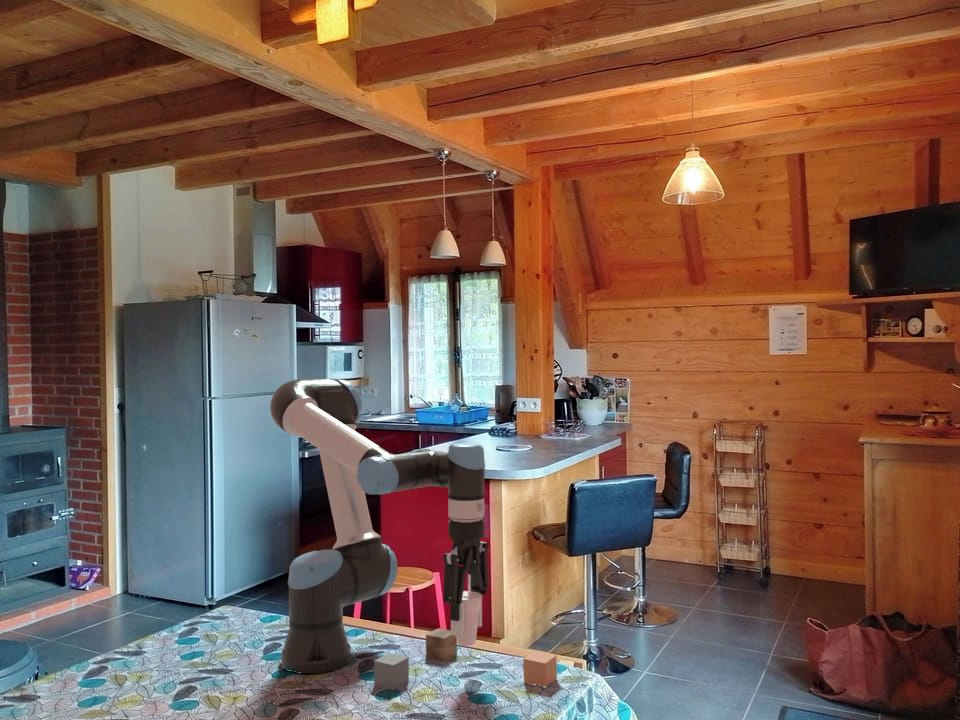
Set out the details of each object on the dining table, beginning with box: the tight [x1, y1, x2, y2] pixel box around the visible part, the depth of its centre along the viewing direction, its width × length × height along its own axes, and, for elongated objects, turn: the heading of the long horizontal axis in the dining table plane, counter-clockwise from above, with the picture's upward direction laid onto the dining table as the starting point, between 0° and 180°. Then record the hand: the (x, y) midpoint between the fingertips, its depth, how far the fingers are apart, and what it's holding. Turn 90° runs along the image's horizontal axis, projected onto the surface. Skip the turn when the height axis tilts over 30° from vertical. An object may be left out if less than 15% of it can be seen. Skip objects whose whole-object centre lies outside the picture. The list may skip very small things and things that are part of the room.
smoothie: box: [457, 573, 483, 646], centre depth 155 cm, size 6×6×14 cm
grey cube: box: [373, 652, 410, 691], centre depth 154 cm, size 5×5×5 cm
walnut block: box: [425, 627, 458, 661], centre depth 169 cm, size 5×5×5 cm
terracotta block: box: [523, 650, 558, 687], centre depth 154 cm, size 5×5×5 cm
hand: (466, 630), depth 155 cm, fingers closed on smoothie, 6 cm apart
